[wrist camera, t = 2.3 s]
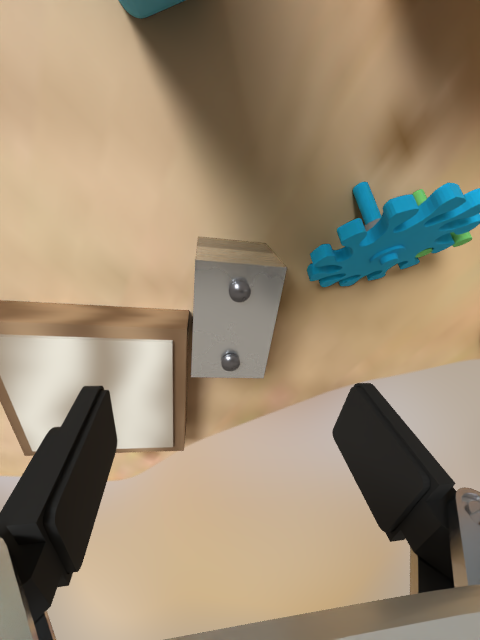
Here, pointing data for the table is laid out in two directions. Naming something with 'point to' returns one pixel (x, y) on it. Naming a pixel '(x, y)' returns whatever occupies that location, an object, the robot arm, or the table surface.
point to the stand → (95, 370)
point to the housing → (234, 307)
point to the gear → (396, 233)
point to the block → (147, 6)
